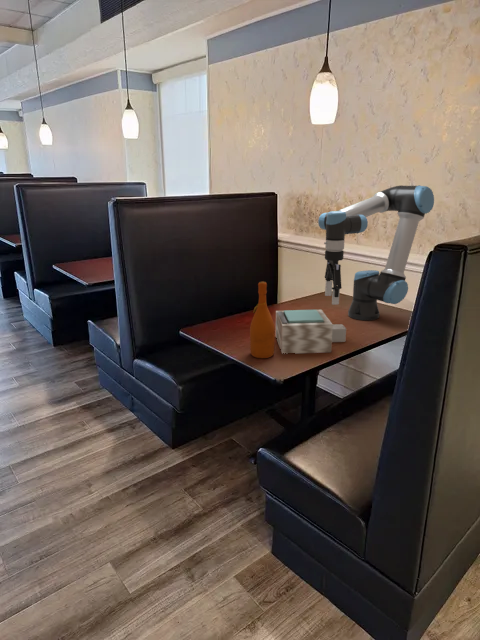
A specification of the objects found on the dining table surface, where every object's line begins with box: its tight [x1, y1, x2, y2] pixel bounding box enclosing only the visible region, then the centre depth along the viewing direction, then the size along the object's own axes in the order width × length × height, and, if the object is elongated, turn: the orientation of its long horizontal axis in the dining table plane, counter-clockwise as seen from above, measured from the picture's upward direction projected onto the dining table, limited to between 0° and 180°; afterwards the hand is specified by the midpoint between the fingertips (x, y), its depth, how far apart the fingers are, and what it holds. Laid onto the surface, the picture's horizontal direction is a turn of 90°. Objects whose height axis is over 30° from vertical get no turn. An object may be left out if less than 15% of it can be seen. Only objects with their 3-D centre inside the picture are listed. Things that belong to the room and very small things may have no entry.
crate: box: [275, 308, 333, 355], centre depth 182 cm, size 20×20×12 cm
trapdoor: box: [283, 309, 324, 323], centre depth 180 cm, size 14×14×1 cm
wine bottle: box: [249, 281, 276, 359], centre depth 169 cm, size 10×10×30 cm
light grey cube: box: [332, 323, 347, 343], centre depth 188 cm, size 6×6×6 cm
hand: (331, 299), depth 184 cm, fingers open, 13 cm apart
